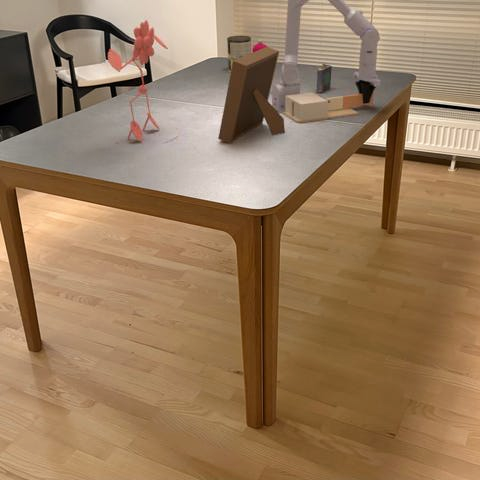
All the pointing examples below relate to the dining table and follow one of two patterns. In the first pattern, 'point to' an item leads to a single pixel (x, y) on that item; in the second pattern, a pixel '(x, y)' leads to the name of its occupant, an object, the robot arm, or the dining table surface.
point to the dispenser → (311, 108)
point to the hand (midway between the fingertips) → (364, 102)
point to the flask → (323, 78)
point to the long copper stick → (347, 101)
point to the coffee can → (238, 48)
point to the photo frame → (250, 96)
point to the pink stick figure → (143, 51)
